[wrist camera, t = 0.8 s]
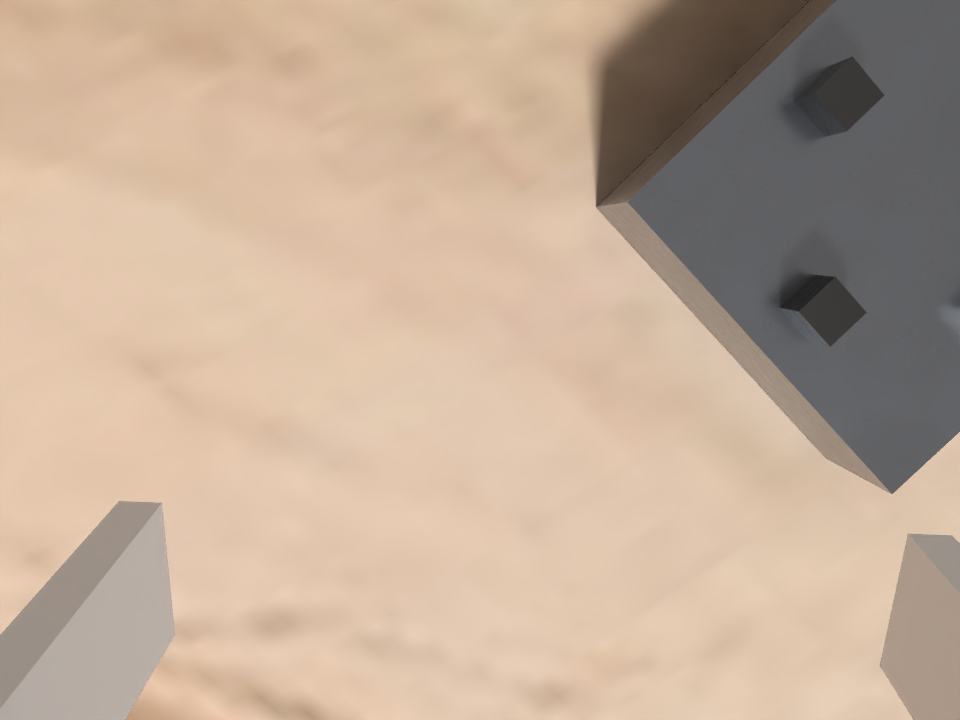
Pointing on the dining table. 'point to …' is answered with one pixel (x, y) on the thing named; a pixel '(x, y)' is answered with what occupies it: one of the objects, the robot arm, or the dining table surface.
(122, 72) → the dining table surface
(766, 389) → the block
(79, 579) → the robot arm
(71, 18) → the dining table surface
